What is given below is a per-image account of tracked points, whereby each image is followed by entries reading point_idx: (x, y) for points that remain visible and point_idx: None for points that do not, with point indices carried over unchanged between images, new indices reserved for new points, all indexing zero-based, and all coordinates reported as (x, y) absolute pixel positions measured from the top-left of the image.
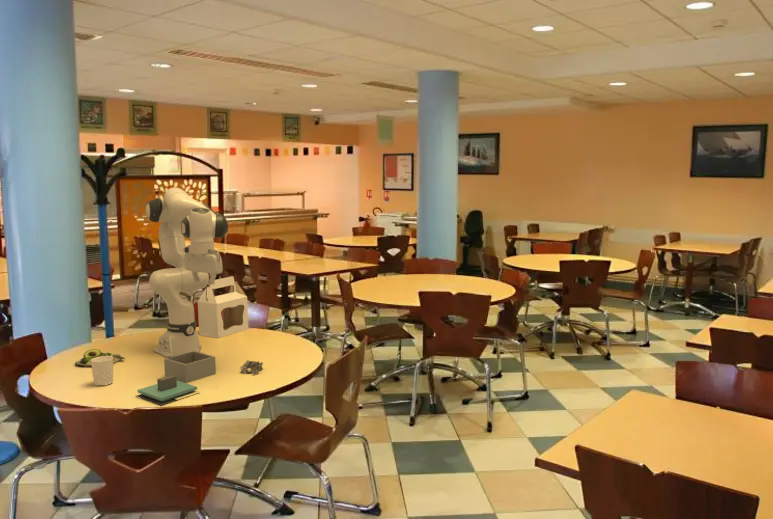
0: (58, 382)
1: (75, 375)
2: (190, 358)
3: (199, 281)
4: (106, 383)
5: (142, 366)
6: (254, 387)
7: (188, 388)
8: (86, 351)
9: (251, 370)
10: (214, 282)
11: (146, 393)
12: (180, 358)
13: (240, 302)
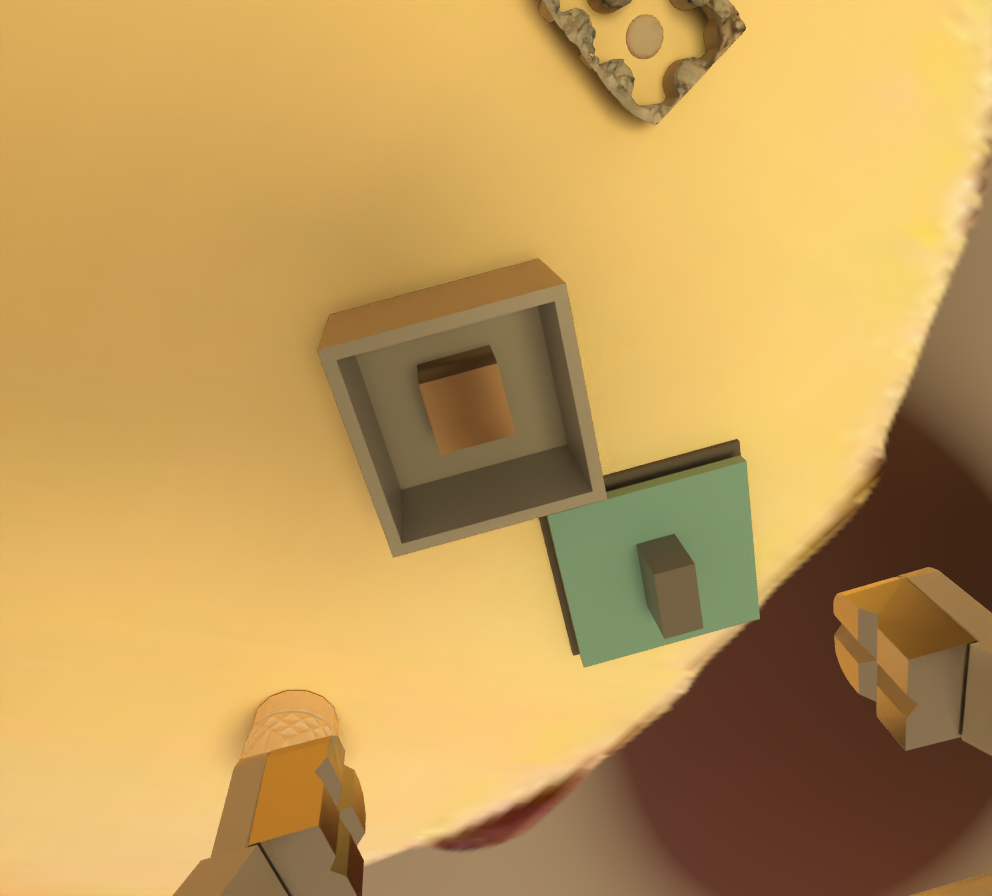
0: (161, 843)
1: (80, 791)
2: (348, 371)
3: (335, 741)
4: (335, 722)
5: (77, 534)
6: (884, 171)
7: (737, 499)
8: None
9: (710, 63)
10: (953, 585)
11: (651, 647)
12: (373, 449)
13: None
